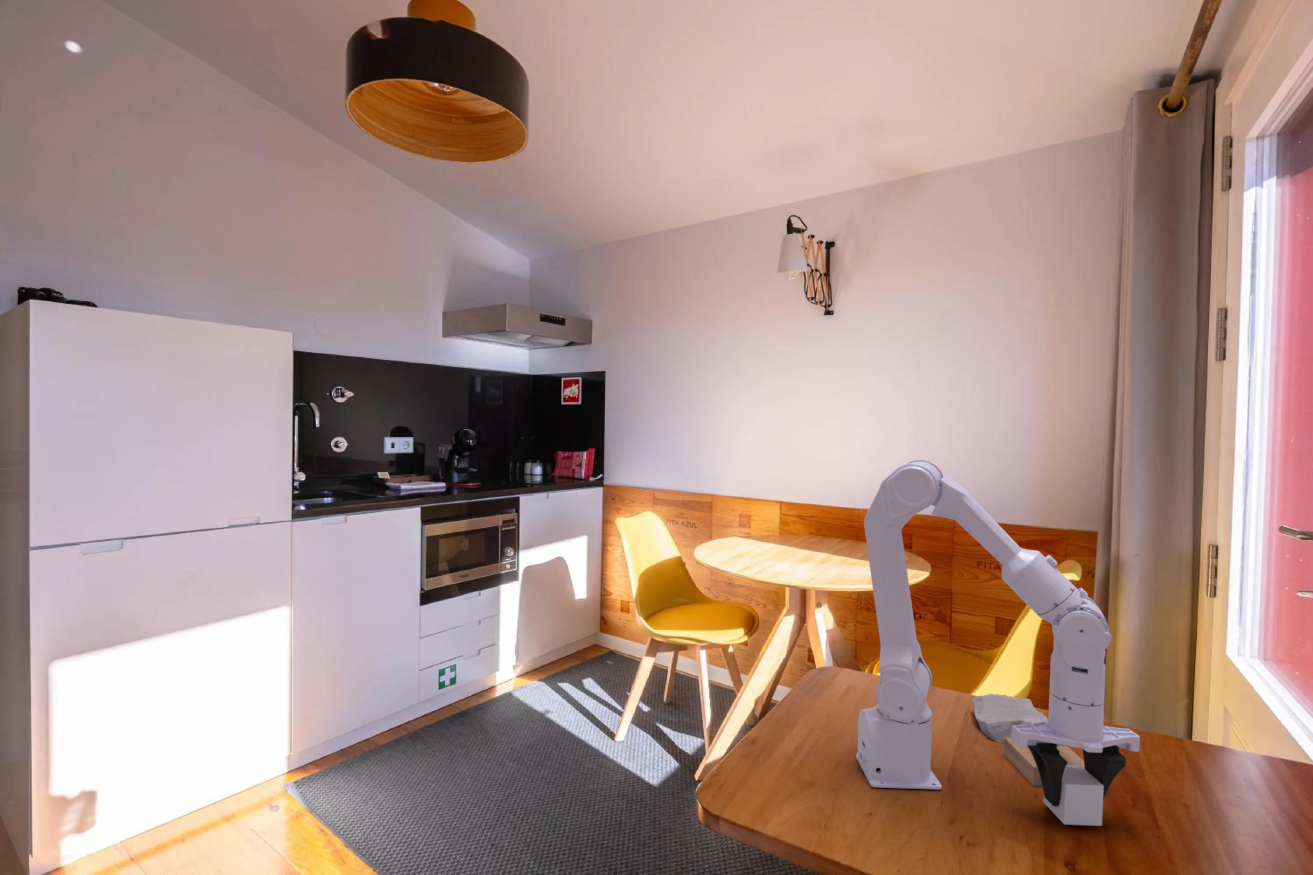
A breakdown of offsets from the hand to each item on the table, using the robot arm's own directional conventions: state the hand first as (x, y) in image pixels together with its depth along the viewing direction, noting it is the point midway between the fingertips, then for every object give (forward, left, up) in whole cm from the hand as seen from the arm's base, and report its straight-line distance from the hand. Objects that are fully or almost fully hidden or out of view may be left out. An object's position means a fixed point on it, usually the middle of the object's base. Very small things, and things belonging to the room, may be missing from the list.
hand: (1072, 802), depth 80 cm
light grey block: (0, 0, -1) cm, 1 cm away
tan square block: (+3, +11, -3) cm, 12 cm away
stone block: (+4, +24, -3) cm, 24 cm away
